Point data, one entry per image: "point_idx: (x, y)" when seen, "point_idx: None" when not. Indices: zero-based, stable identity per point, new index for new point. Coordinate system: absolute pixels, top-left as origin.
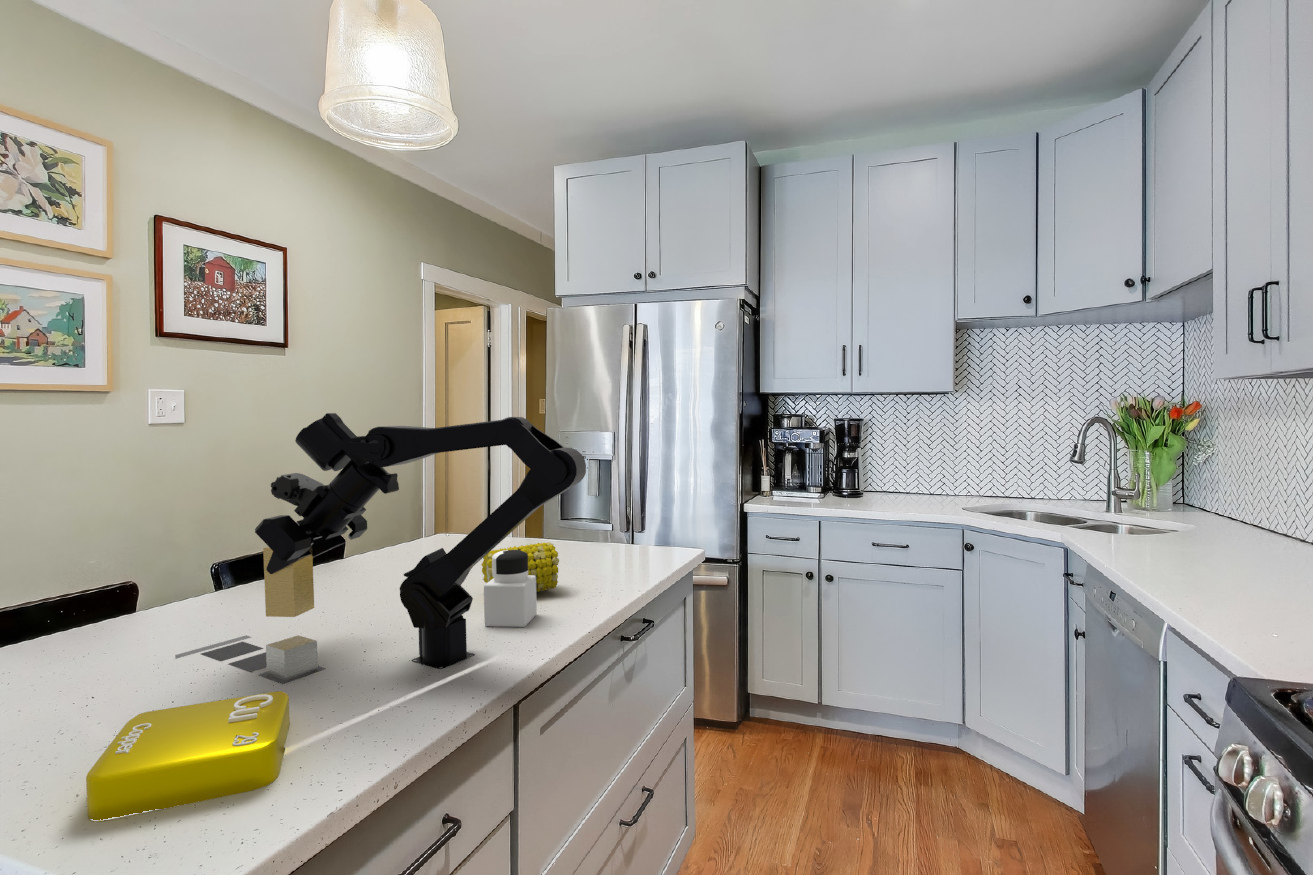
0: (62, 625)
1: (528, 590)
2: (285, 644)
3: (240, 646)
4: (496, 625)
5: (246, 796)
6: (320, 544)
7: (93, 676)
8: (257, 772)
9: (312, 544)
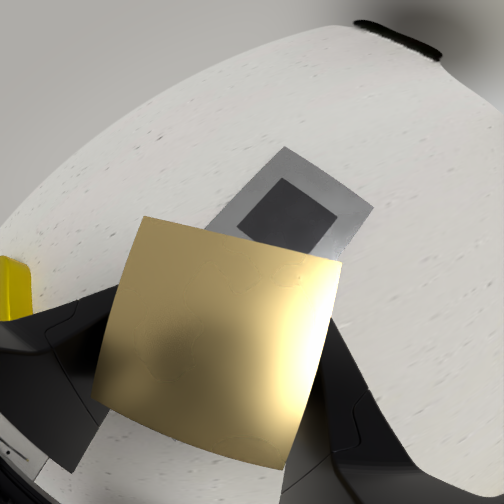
0: (393, 33)
1: None
2: None
3: (310, 224)
4: None
5: None
6: (288, 498)
7: (232, 100)
8: None
9: (304, 457)
